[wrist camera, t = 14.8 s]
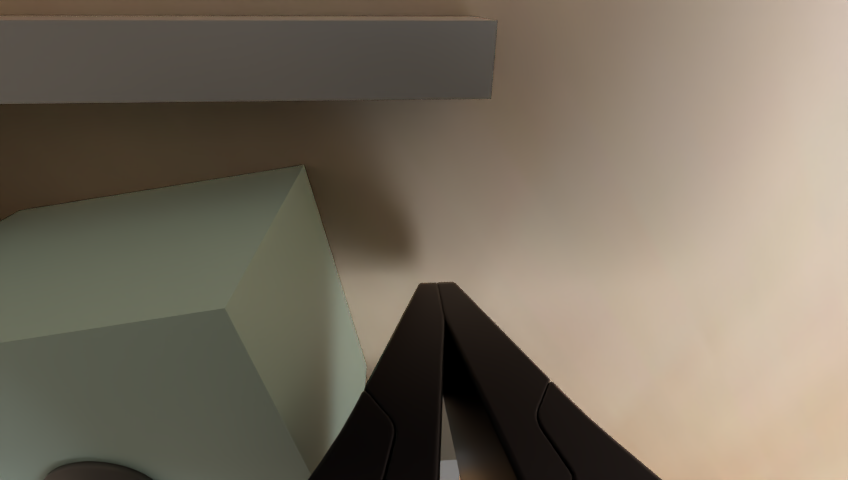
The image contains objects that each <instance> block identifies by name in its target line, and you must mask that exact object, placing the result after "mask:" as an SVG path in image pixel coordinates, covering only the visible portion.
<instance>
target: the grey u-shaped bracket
mask: <svg viewBox="0 0 848 480" xmlns="http://www.w3.org/2000/svg"><path fill="white" fill-rule="evenodd" d="M497 22H498V21H497V20H491V19H486V18H480V17H474V16H0V104H40V103H134V102H227V101H321V100H415V99H491V93H492V81H493V69H494V58H495V46H496V34H497ZM440 480H459V469H458V464H457V460H456V455H455V450H454V446H453V441H452V436H451V432H450V427H449V422H448V418H447V413H446V408H445V404H444V399H443V406H442V434H441V461H440Z"/></svg>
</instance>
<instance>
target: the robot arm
mask: <svg viewBox="0 0 848 480" xmlns="http://www.w3.org/2000/svg"><path fill="white" fill-rule="evenodd" d="M443 399H444V404H445V408H446V413H447V418H448V422H449V427H450V432H451V436H452V441H453V446H454V450H455V455H456V460H457V464H458V469H459V474H460V479H461V480H662V479H660V478H659V477H658V476H657V475H656V474H654V473H653V472H652V471H651V470H650V469H649V468H647V467H646V466H645V465H644V464H643V463H641V462H640V461H639V460H638V459H637V458H635V457H634V456H633V455H632V454H631V453H630V452H628V451H627V450H626V449H625V448H624V447H622V446H621V445H620V444H619V443H618V442H616V441H615V440H614V439H613V438H612V437H611V436H610V435H608V434H607V433H606V432H605V431H604V430H603V429H602V428H600V427H599V426H598V425H597V424H596V423H595V422H594V421H592V420H591V419H590V418H589V417H588V416H587V415H586V414H585V413H584V412H583V411H582V410H581V409H580V408H579V407H578V406H577V405H575V404H574V403H573V402H572V401H571V400H570V399H569V398H568V397H567V396H566V395H565V394H564V393H563V392H562V391H561V390H560V389H559V388H558V387H557V386H556V385H555V384H554V383H553V382H550V379H549V378H548V377H547V376H546V375H545V374H544V373H543V372H542V371H541V370H540V369H539V368H538V367H537V366H536V365H535V364H534V362H533V361H532V360H531V359H530V358H529V357H528V356H527V355H526V354H525V353H524V352H523V351H522V350H521V349H520V348H519V347H518V346H517V345H516V344H515V343H514V342H513V341H512V340H511V339H510V338H509V337H508V336H507V335H506V334H505V333H504V332H503V331H502V330H501V329H500V328H499V327H498V326H497V325H496V324H495V323H494V322H493V321H492V320H491V319H490V318H489V317H488V316H487V315H486V314H485V313H484V312H483V311H482V310H481V309H480V308H479V307H478V306H477V304H476V303H475V302H474V301H473V300H472V299H471V298H470V297H469V296H468V295H467V294H466V293H465V292H464V291H463V290H462V289H461V288H460V287H459V286H458V285H457V284H456V283H454V282H439V283H420V284H419V285H418V287H417V289H416V291H415V292H414V294H413V296H412V298H411V300H410V302H409V304H408V306H407V308H406V310H405V312H404V313H403V315H402V317H401V319H400V321H399V323H398V325H397V327H396V329H395V331H394V333H393V334H392V336H391V338H390V340H389V342H388V344H387V346H386V348H385V350H384V352H383V354H382V355H381V357H380V359H379V361H378V363H377V365H376V367H375V369H374V371H373V373H372V375H371V376H370V378H369V380H368V382H367V384H366V386H365V388H364V391H363V392H362V393H361V395H360V397H359V399H358V401H357V403H356V405H355V407H354V408H353V410H352V412H351V414H350V415H349V417H348V419H347V421H346V422H345V424H344V426H343V428H342V429H341V431H340V433H339V434H338V436H337V437H336V439H335V440H334V442H333V443H332V445H331V446H330V448H329V449H328V451H327V452H326V454H325V455H324V457H323V458H322V460H321V461H320V463H319V464H318V466H317V467H316V468H315V470H314V471H313V473H312V474H311V476H310V477H309V478H308V480H440V461H441V434H442V406H443Z"/></svg>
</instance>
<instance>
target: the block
mask: <svg viewBox="0 0 848 480" xmlns="http://www.w3.org/2000/svg"><path fill="white" fill-rule="evenodd" d="M366 369H367V365H366V362H365V359H364V356H363V353H362V349H361V346H360V343H359V340H358V337H357V333H356V330H355V327H354V324H353V320H352V317H351V314H350V311H349V308H348V304H347V301H346V298H345V295H344V292H343V288H342V285H341V282H340V279H339V276H338V272H337V269H336V266H335V263H334V259H333V256H332V253H331V250H330V247H329V243H328V240H327V237H326V234H325V231H324V227H323V224H322V221H321V218H320V215H319V211H318V208H317V205H316V202H315V198H314V195H313V192H312V189H311V186H310V182H309V179H308V176H307V173H306V170H305V166H304V165H300V166H294V167H287V168H281V169H275V170H269V171H263V172H256V173H250V174H244V175H238V176H231V177H225V178H219V179H213V180H206V181H200V182H194V183H188V184H182V185H175V186H169V187H163V188H157V189H150V190H144V191H138V192H132V193H125V194H119V195H113V196H107V197H101V198H94V199H88V200H82V201H76V202H69V203H63V204H57V205H51V206H44V207H38V208H32V209H26V210H20V211H18V212H16V213H14V214H13V215H11V216H9V217H7V218H5V219H4V220H2V221H0V480H308V478H309V477H310V476H311V474H312V473H313V471H314V470H315V468H316V467H317V466H318V464H319V463H320V461H321V460H322V458H323V457H324V455H325V454H326V452H327V451H328V449H329V448H330V446H331V445H332V443H333V442H334V440H335V439H336V437H337V436H338V434H339V433H340V431H341V429H342V428H343V426H344V424H345V422H346V421H347V419H348V417H349V415H350V414H351V412H352V410H353V408H354V407H355V405H356V403H357V401H358V399H359V397H360V395H361V393H362V392H363V391H364V388H365V382H366Z"/></svg>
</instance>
